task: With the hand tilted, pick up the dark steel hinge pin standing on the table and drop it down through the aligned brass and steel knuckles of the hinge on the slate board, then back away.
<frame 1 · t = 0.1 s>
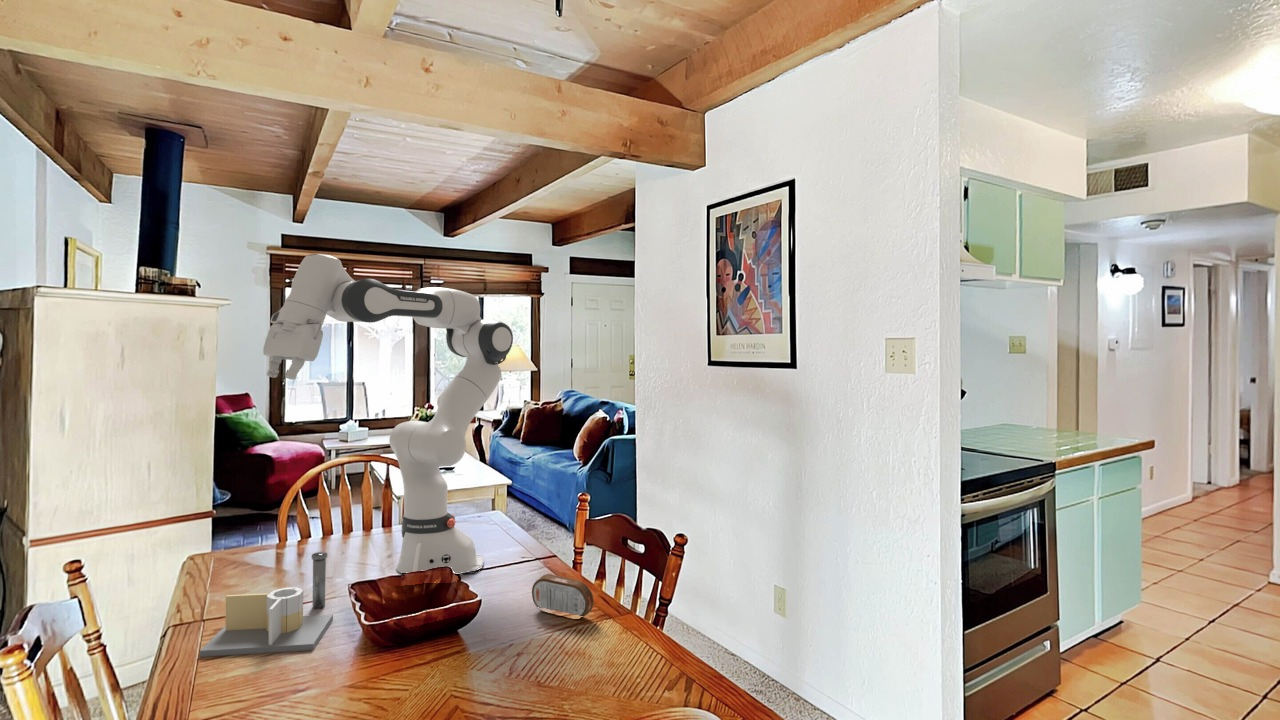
hand: (280, 377, 145), 52 cm above the table, tool tilted 20°, fingers open, 8 cm apart
hinge pin: (318, 606, 148), on the table
tin: (561, 616, 146), on the table
hinge: (270, 637, 132), on the table
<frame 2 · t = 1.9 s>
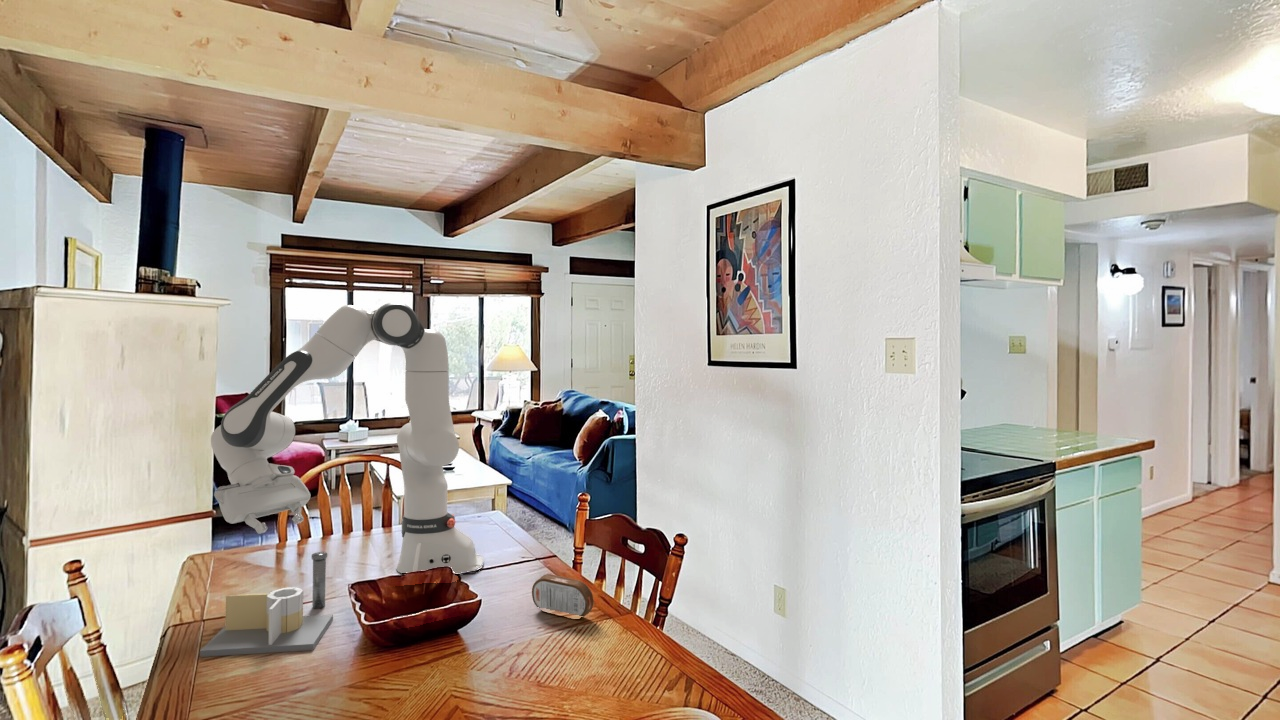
hand: (282, 526, 152), 17 cm above the table, tool tilted 45°, fingers open, 8 cm apart
nothing on the table moved.
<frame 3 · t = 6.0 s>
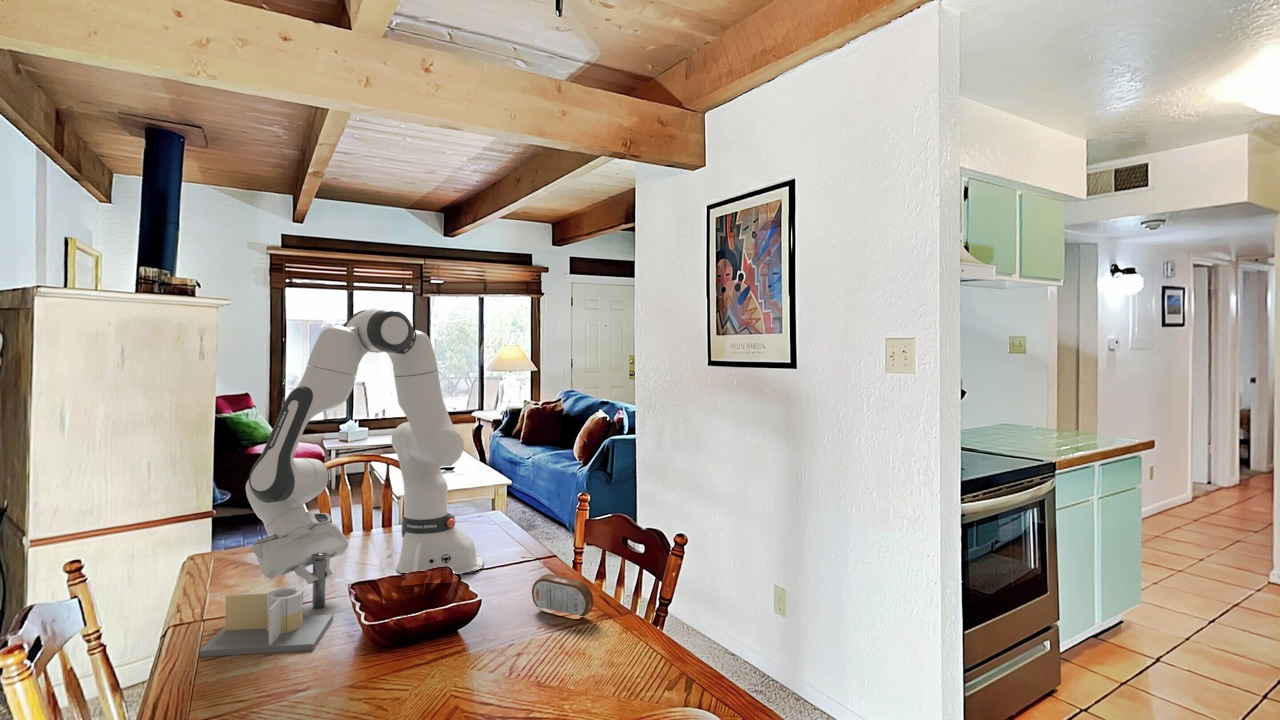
hand: (321, 579, 147), 6 cm above the table, tool tilted 45°, fingers closed on hinge pin, 3 cm apart
hinge pin: (318, 606, 148), on the table, touching gripper
everything else where it was.
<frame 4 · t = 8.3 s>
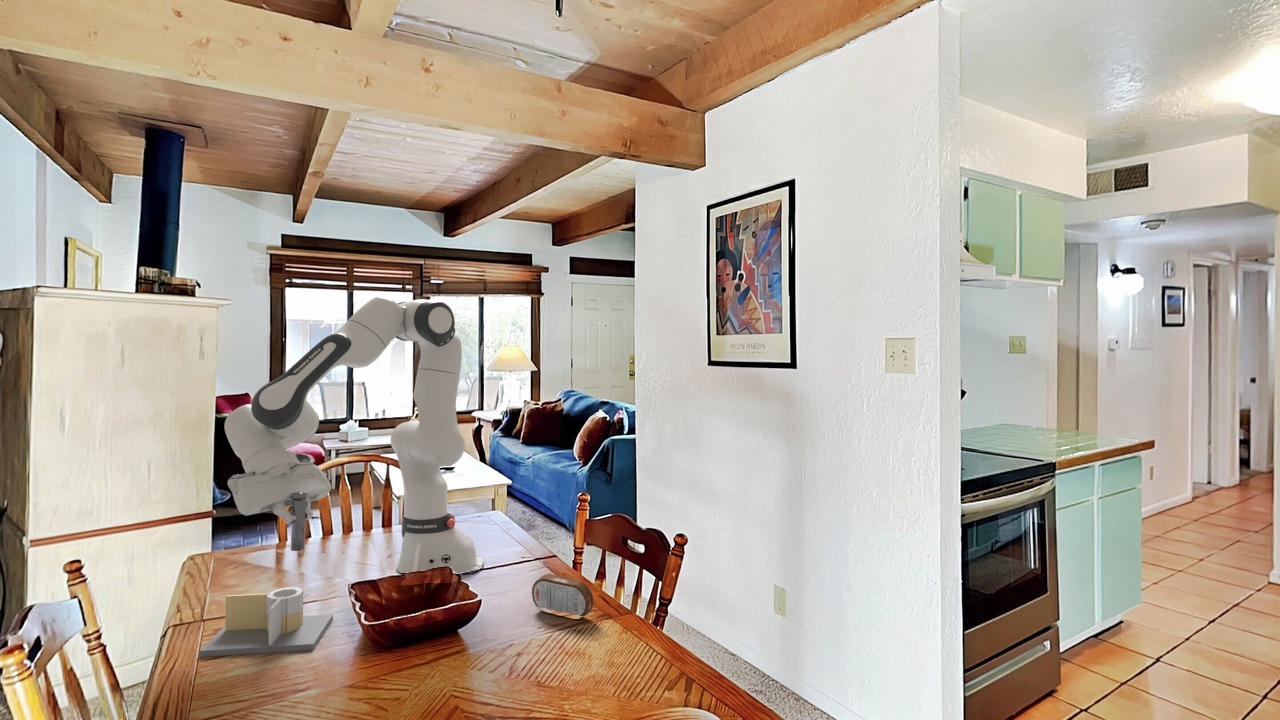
hand: (300, 519, 139), 22 cm above the table, tool tilted 45°, fingers closed on hinge pin, 3 cm apart
hinge pin: (297, 549, 140), point 16 cm above the table, touching gripper
everything else where it was.
when the fingers open (13 cm above the table, at t = 11.0 s): hinge pin drops 5 cm, resting on hinge.
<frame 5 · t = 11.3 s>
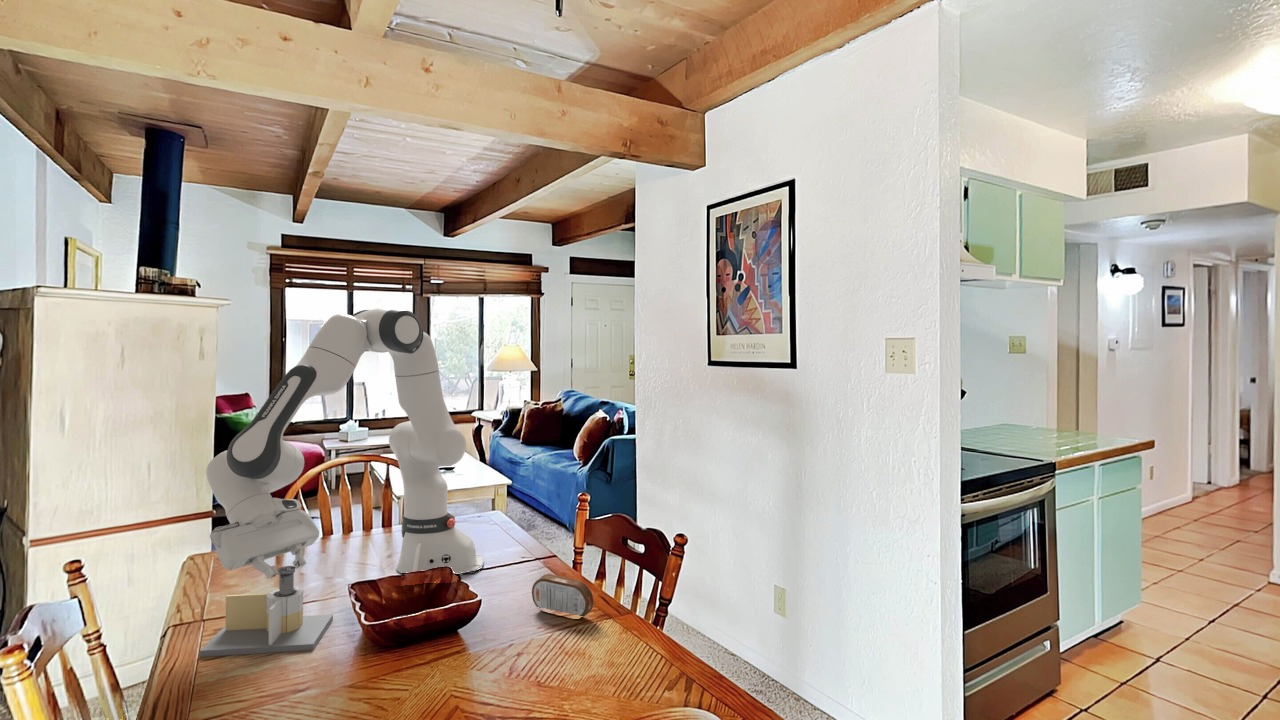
hand: (287, 571, 134), 13 cm above the table, tool tilted 45°, fingers open, 5 cm apart
hinge pin: (286, 625, 135), point 1 cm above the table, touching hinge
everything else where it was.
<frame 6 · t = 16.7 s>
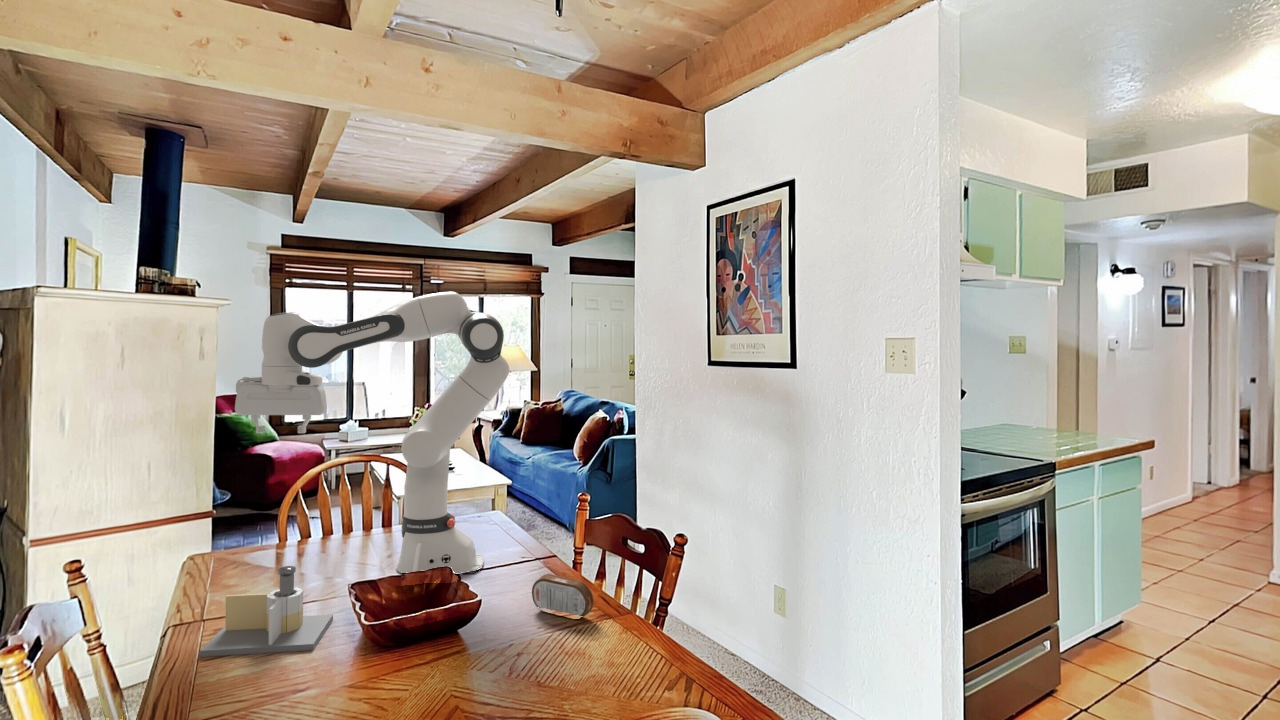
hand: (281, 433, 162), 37 cm above the table, tool pointing down, fingers open, 8 cm apart
nothing on the table moved.
at the end: hinge pin 0.4 cm from the target spot on the hinge, point 1.2 cm above the hinge's base; hinge pin tilted 0°; the gripper is holding nothing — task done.
